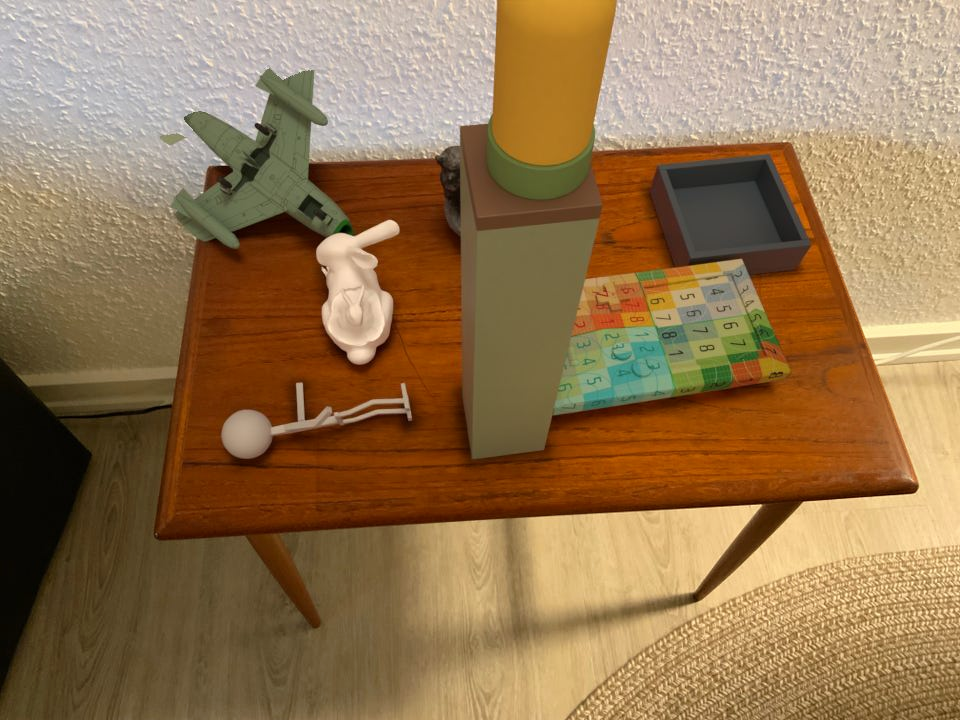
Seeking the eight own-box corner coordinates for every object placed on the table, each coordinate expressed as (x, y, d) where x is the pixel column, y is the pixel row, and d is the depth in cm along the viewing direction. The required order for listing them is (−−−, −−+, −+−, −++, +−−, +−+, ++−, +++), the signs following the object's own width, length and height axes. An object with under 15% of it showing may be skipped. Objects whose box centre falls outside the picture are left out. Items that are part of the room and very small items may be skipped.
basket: (795, 270, 70) (812, 245, 67) (679, 283, 69) (690, 258, 66) (756, 180, 76) (769, 153, 72) (648, 191, 75) (657, 164, 71)
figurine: (397, 342, 58) (203, 377, 57) (410, 417, 56) (211, 455, 55) (402, 365, 64) (227, 397, 62) (414, 434, 62) (234, 468, 61)
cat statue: (561, 208, 73) (575, 131, 65) (561, 265, 70) (574, 192, 61) (441, 200, 74) (438, 123, 65) (435, 257, 70) (430, 183, 61)
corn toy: (599, 194, 35) (648, -18, 26) (495, 205, 34) (506, -6, 25) (576, 119, 37) (613, -99, 28) (479, 129, 37) (483, -90, 28)
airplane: (330, 236, 63) (379, 267, 73) (343, -9, 67) (388, 51, 76) (104, 253, 70) (176, 279, 80) (127, 30, 73) (193, 81, 83)
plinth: (544, 450, 61) (603, 204, 35) (471, 459, 60) (476, 217, 34) (531, 386, 64) (576, 114, 37) (462, 394, 63) (459, 125, 37)
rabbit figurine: (321, 265, 69) (301, 195, 61) (401, 255, 70) (392, 184, 62) (331, 377, 63) (310, 316, 55) (418, 364, 64) (411, 302, 56)
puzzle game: (524, 282, 63) (745, 252, 65) (520, 312, 67) (728, 283, 69) (554, 403, 58) (795, 366, 60) (548, 428, 62) (774, 392, 64)
